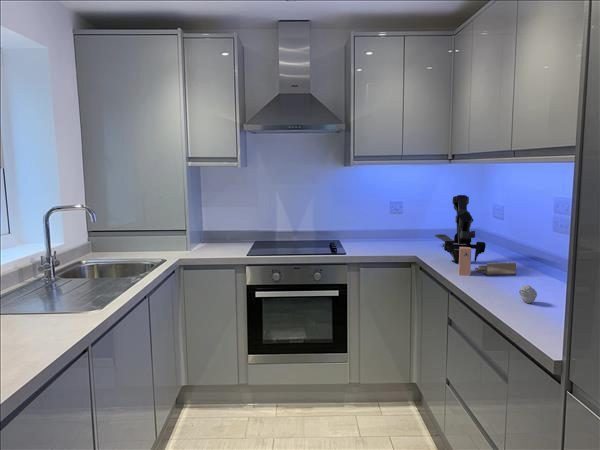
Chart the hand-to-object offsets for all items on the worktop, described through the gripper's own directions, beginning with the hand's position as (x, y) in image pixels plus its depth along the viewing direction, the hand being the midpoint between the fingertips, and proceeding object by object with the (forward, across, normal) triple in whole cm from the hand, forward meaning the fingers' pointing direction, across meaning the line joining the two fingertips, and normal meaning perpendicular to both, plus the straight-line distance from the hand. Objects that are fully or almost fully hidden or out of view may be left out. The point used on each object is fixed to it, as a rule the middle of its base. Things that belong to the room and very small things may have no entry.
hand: (465, 260), depth 218 cm
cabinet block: (+4, 0, +6) cm, 7 cm away
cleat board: (-1, +15, +11) cm, 19 cm away
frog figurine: (+34, +19, -24) cm, 46 cm away
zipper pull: (-49, -3, +59) cm, 77 cm away
